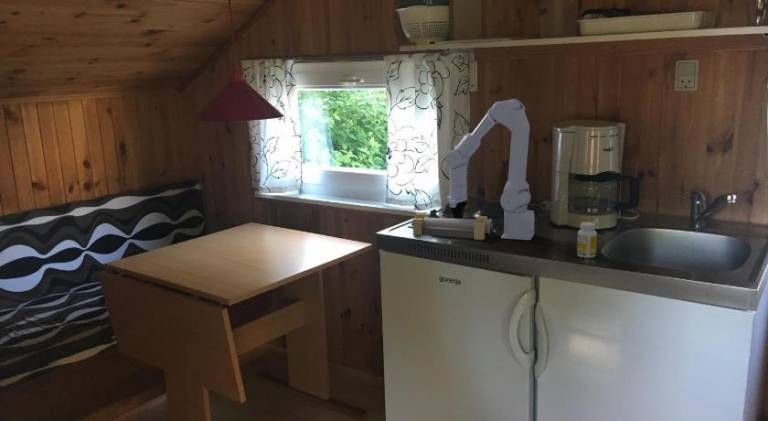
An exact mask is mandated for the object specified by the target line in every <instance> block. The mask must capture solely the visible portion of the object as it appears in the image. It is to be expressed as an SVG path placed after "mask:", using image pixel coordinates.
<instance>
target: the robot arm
mask: <svg viewBox="0 0 768 421" xmlns="http://www.w3.org/2000/svg"><path fill="white" fill-rule="evenodd" d="M525 111H526V106H525V105H524V104H523V103H522V102H521V101H520V100H519V99H517V98H510V99H508V100H502V101H501V100H499V101H496V102H494V104H493V105H492V106H491V107H490V108H489V109H488V110H487V112H486V113H485V115H484V117H483V118H482V119H481V121H480V122H479V124H478V125H477V126H476V127H475V128H474V130H473V132H471V133H470V132H469V133H466V134H463V135H462V136H461V137H462V139H461V141H460V142H458V144H455V145H454V149H453V150H449V151H448V152H447V154H446V156H445V162H446V164H447V166H448V167H449V168H448V169H449V170H448V171H449V173H448V174H449V195H448V196H446V200H449V203H448V205H449V209H450V210H451V212H452V216H453V219H464V215H465V210H466V208H467V206H468V201H467V200H468V196H467V169H468V168H467V166H468V164H469V163H470V159H471V158H470V157H471V156H472V155H473V154H474V153H475V152H476V151H477V150H478V149H479V147H480V146H481V140H482V139H483V137H484V136H485V135H486V134H487V133H488V132H489V131H490V130H491V128H493V127H494V126H495V125H496V124H498V123H499V124H501V125H503V126H505V127H506V128H507V129H508V130H509V131H510V132H511V134H510V135H511V136H510V137H511V138H510V148H509V149H510V151H509V163H508V164H509V165H508V176H507V177H508V178H507V179H508V180H507V182H506V183H505V185H504V188H503V192H502V194H501V196H500V201H499V202H500V205H501V207H502V209H503V212H504V213H503V215H504V216H503V218H504V219H503V220H504V224H503V225H504V226H503V230H504V231H503V233H502V235H501V236H500V238H501V239H506V240H507V239H508V240H509V239H510V240H519V241H520V240H521V241H522V240H523V241H531V240H532V238H533V237H534V235H535V211H534V210H529V209H528V204H530V201H531V198H532V197H531V193H530V184H529V183H528V182H527V181H526V180H527V179H526V177H527V165H528V155H529V154H528V152H529V140H530V131H531V130H530V129H531V127H530V122H529V120H528V118H527V115H526V112H525Z"/></svg>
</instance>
